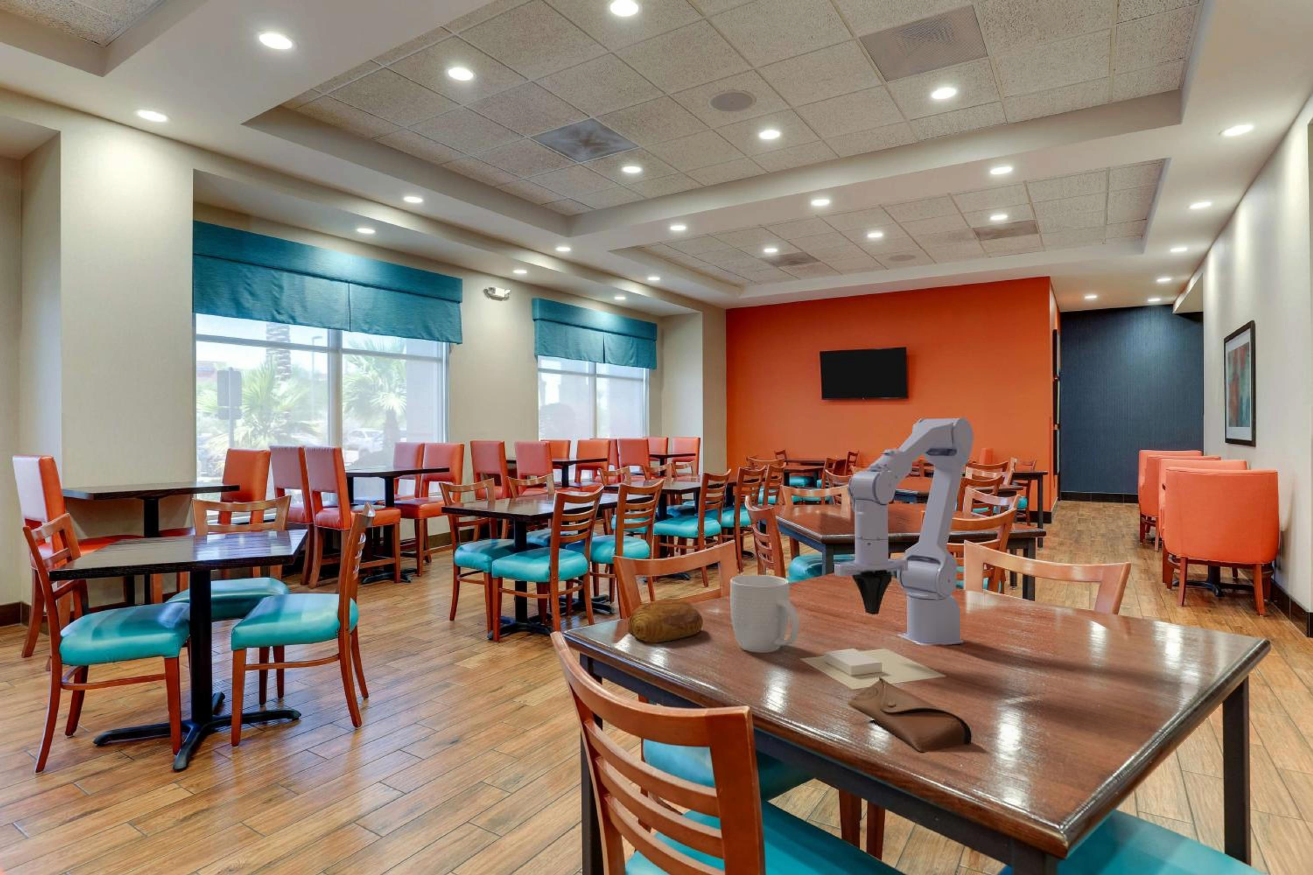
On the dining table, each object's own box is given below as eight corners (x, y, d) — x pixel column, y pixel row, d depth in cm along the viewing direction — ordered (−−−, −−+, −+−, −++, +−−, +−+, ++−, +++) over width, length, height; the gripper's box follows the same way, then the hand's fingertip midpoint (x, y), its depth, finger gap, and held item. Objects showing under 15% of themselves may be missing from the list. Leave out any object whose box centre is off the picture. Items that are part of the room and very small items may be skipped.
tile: (853, 648, 126) (824, 651, 124) (881, 661, 118) (851, 665, 116) (853, 658, 126) (824, 661, 124) (881, 672, 118) (851, 676, 116)
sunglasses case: (835, 703, 106) (854, 662, 107) (868, 722, 108) (887, 681, 109) (922, 754, 89) (943, 705, 90) (959, 774, 91) (979, 726, 93)
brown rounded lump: (713, 646, 143) (718, 606, 143) (649, 648, 134) (655, 606, 135) (672, 628, 155) (677, 591, 155) (611, 629, 146) (616, 590, 147)
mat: (884, 651, 132) (884, 648, 132) (946, 679, 117) (946, 675, 117) (799, 662, 126) (799, 658, 126) (852, 692, 111) (852, 689, 111)
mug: (818, 656, 129) (817, 584, 129) (775, 668, 122) (775, 592, 122) (759, 637, 141) (759, 572, 141) (718, 647, 134) (717, 578, 134)
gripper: (890, 532, 134) (890, 604, 134) (824, 537, 129) (824, 611, 129) (915, 537, 127) (916, 612, 128) (847, 542, 122) (848, 621, 123)
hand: (872, 613), depth 128 cm, fingers closed
